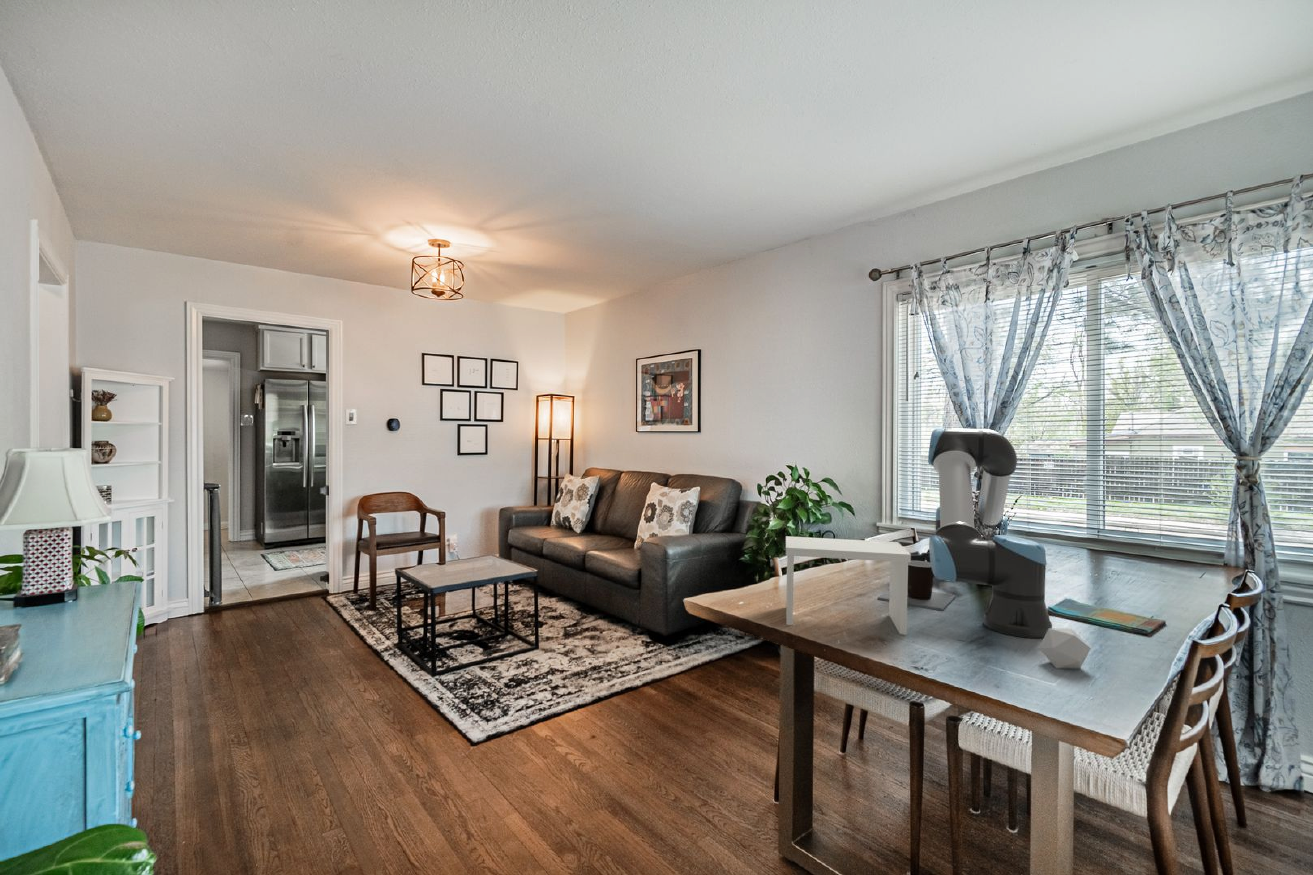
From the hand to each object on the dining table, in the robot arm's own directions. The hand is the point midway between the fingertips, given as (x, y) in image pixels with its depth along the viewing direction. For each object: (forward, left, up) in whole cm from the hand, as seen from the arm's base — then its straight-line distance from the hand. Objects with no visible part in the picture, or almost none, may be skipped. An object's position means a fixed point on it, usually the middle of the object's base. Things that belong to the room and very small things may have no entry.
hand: (925, 566), depth 191 cm
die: (-58, +15, -8) cm, 60 cm away
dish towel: (-36, -28, -9) cm, 46 cm away
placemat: (-6, +8, -8) cm, 12 cm away
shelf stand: (-18, +43, -8) cm, 47 cm away
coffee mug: (-6, +6, -8) cm, 11 cm away
